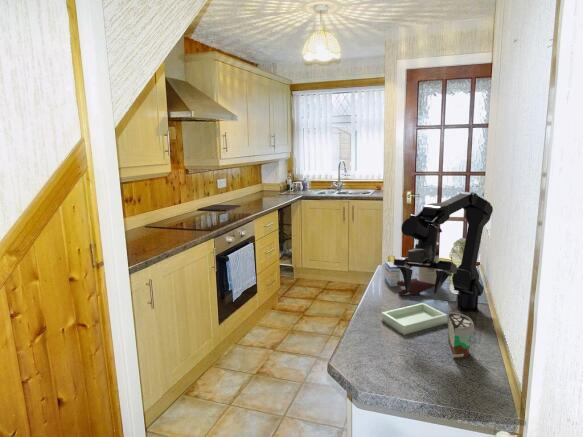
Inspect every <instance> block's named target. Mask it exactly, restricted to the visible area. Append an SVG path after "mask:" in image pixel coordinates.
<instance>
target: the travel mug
mask: <svg viewBox="0 0 583 437" xmlns="http://www.w3.org/2000/svg"><path fill="white" fill-rule="evenodd" d="M439 244H440V243H439V242H438V241H437V246H436V248H437V249H438V250H437V252H436V254H435V261H436V263H438V262H439V261H440V250H439V247H438V246H439ZM419 265H420V264H419ZM426 265H430V264H426ZM436 270H438V271H439V269H432V268H422V267H418V280H419V281H423V282H427V283H432V284H435V282H436Z"/></svg>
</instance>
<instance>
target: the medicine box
mask: <svg viewBox="0 0 583 437" xmlns="http://www.w3.org/2000/svg"><path fill="white" fill-rule="evenodd" d="M393 264H394V261H385V262H384V281H385V283H386V284H387V285H388V286H389V287H399V286H398V285H397V282H398V281H401V270H400V269H399V268H397V266H395V265H393Z"/></svg>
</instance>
